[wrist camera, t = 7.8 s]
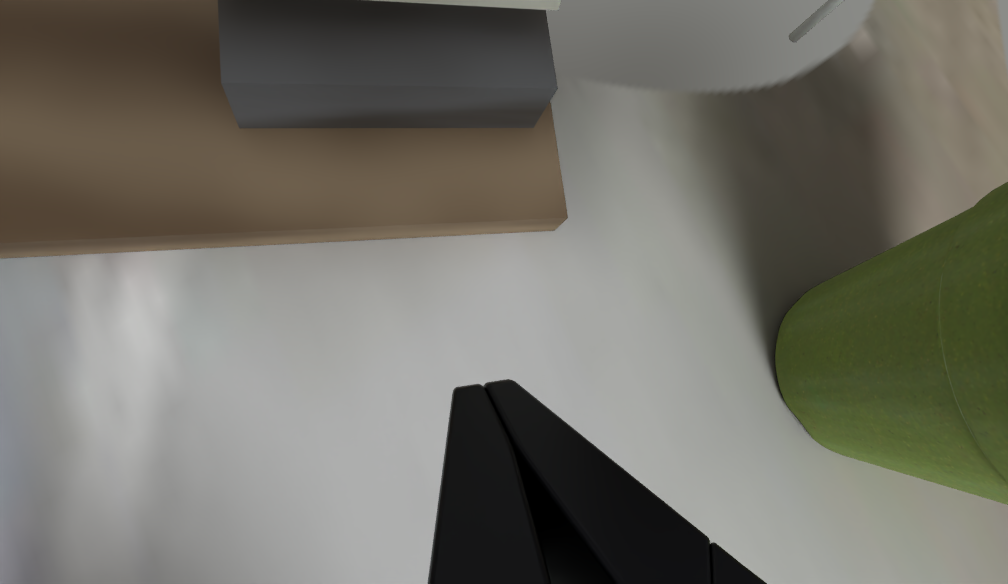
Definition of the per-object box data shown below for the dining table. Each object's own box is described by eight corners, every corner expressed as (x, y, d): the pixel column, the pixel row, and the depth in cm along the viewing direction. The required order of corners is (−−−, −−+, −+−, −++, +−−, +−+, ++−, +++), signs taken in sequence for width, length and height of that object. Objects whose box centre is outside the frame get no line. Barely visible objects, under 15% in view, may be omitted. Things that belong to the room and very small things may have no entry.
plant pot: (676, 274, 23) (946, 153, 13) (892, 209, 27) (1247, 72, 16) (784, 570, 22) (1192, 714, 11) (997, 461, 25) (1465, 493, 15)
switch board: (554, 230, 22) (596, 189, 18) (-571, 286, 15) (-918, 237, 11) (514, -42, 25) (545, -131, 21) (-486, -120, 17) (-747, -288, 13)
